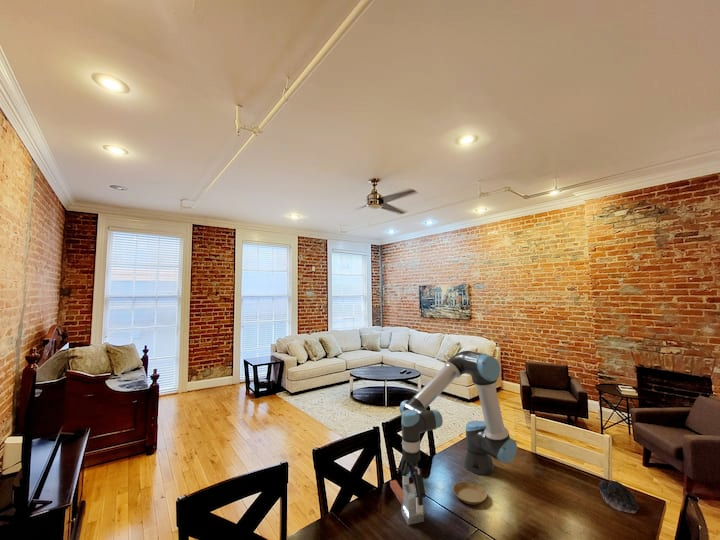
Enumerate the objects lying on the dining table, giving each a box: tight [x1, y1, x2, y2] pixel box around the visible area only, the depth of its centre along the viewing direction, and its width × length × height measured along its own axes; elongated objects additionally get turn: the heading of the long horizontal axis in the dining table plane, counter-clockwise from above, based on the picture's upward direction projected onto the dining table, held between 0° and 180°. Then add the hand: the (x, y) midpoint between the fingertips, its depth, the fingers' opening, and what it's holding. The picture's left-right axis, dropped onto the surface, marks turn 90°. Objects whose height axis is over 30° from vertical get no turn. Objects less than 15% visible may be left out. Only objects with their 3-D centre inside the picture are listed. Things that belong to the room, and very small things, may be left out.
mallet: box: [389, 479, 425, 526], centre depth 142 cm, size 26×7×8 cm, turn 15°
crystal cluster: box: [597, 479, 640, 514], centre depth 140 cm, size 13×14×10 cm
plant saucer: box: [452, 481, 488, 505], centre depth 145 cm, size 15×15×3 cm
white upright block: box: [402, 482, 419, 516], centre depth 133 cm, size 6×6×9 cm
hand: (412, 501), depth 133 cm, fingers open, 13 cm apart
